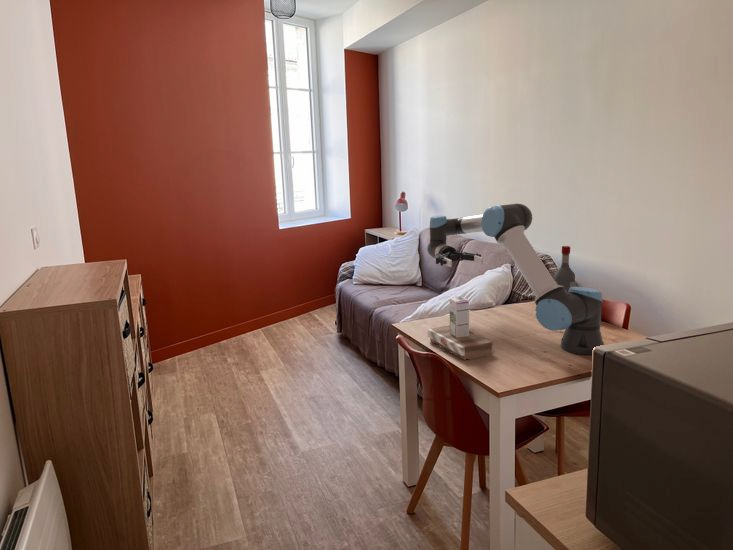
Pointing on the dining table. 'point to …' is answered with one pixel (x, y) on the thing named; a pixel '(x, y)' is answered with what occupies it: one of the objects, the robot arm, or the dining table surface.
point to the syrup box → (459, 317)
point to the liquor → (565, 271)
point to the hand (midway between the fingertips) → (466, 262)
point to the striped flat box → (461, 343)
